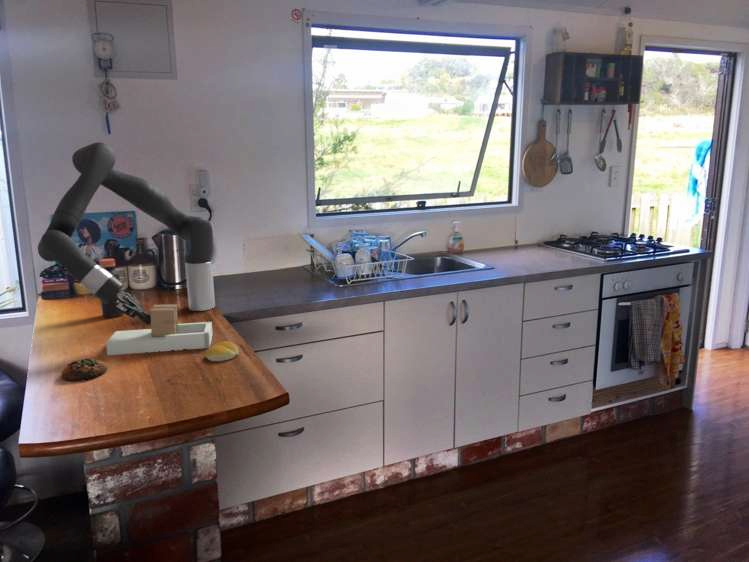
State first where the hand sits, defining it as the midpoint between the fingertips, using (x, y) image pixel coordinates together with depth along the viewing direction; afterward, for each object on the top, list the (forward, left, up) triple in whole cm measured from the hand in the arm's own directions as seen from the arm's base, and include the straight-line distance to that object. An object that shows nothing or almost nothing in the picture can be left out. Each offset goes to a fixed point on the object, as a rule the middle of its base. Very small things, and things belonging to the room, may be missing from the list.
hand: (151, 322), depth 182 cm
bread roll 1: (+20, -14, -8) cm, 26 cm away
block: (0, +4, -4) cm, 5 cm away
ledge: (0, -4, -7) cm, 8 cm away
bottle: (-38, -20, -7) cm, 44 cm away
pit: (0, +10, -7) cm, 13 cm away
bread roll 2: (+14, +21, -8) cm, 26 cm away
